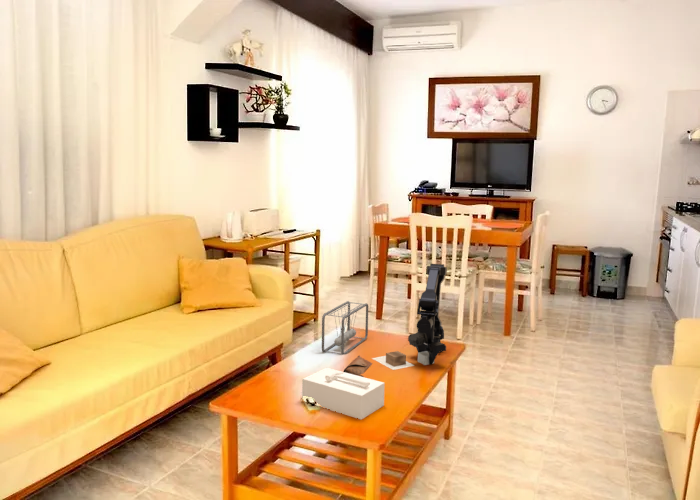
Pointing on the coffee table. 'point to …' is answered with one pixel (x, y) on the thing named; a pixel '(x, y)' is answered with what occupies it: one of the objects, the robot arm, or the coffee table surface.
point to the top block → (423, 358)
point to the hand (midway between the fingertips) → (425, 362)
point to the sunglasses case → (358, 366)
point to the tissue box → (344, 392)
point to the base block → (395, 358)
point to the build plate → (383, 361)
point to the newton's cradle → (349, 333)
